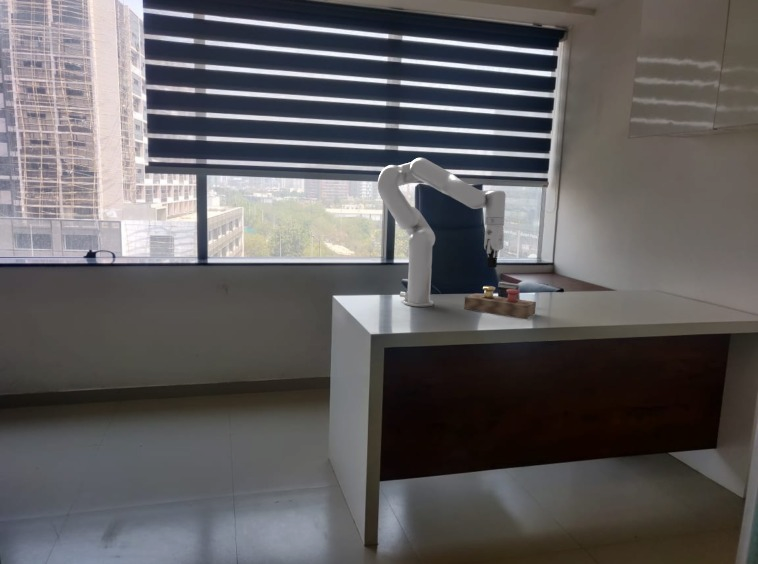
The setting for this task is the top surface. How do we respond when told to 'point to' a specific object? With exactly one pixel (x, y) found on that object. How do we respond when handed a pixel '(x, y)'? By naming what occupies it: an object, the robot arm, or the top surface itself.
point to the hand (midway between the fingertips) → (492, 267)
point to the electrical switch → (503, 288)
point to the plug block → (500, 306)
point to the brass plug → (488, 292)
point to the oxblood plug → (512, 295)
